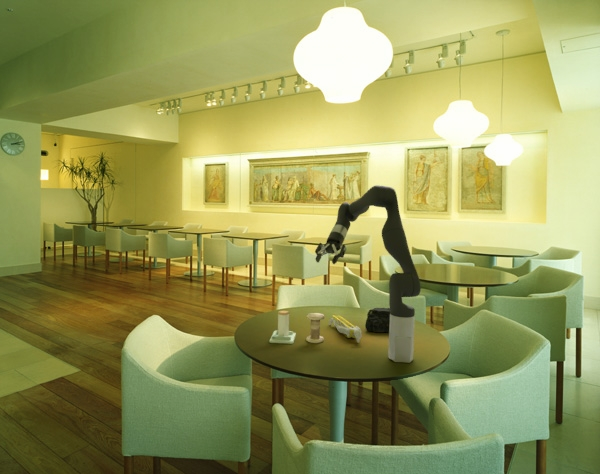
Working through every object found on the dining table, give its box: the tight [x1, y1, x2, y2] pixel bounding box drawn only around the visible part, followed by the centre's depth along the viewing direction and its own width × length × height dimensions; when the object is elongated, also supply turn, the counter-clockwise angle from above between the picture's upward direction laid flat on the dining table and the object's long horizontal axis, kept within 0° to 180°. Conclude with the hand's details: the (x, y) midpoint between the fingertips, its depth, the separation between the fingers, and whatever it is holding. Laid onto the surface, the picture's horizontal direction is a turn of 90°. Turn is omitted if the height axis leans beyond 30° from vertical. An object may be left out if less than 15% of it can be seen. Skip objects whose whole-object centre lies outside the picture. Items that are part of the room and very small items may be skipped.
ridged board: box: [269, 329, 297, 345], centre depth 182 cm, size 12×10×2 cm
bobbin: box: [305, 312, 325, 344], centre depth 181 cm, size 8×8×11 cm
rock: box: [365, 307, 390, 333], centre depth 199 cm, size 18×10×15 cm
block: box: [277, 310, 290, 336], centre depth 182 cm, size 4×4×11 cm
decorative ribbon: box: [328, 315, 362, 344], centre depth 192 cm, size 8×6×30 cm
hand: (325, 262), depth 192 cm, fingers open, 8 cm apart
